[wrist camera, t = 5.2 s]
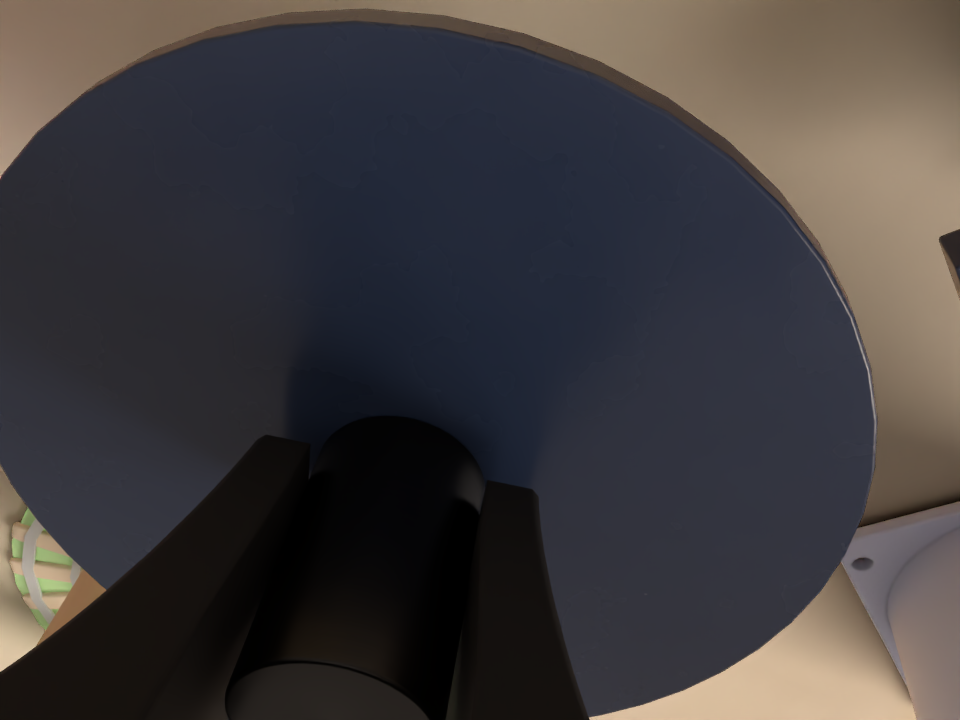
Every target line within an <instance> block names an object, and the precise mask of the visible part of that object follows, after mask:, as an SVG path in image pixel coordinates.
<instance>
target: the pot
mask: <svg viewBox="0 0 960 720" xmlns="http://www.w3.org/2000/svg"><path fill="white" fill-rule="evenodd" d="M939 242H940V245H941V248H942V251H943V254H944V257H945V259H946V262H947V265H948V268H949V271H950V274H951V276H952V279H953V282H954V285H955V288H956V291H957V294H958V296H959V299H960V229H959V230H956V231H953V232H951V233H948V234H945V235H943V236H941V237H939Z"/></svg>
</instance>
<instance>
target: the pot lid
mask: <svg viewBox="0 0 960 720" xmlns="http://www.w3.org/2000/svg"><path fill="white" fill-rule="evenodd" d="M877 426H878V416H877V409H876V401H875V394H874V386H873V379H872V371H871V366H870V363H869V360H868V357H867V354H866V351H865V348H864V344H863V341H862V338H861V335H860V332H859V329H858V326H857V323H856V320H855V317H854V314H853V311H852V308H851V305H850V303H849V300H848V297H847V295H846V293H845V291H844V289H843V287H842V285H841V283H840V281H839V280H838V278H837V276H836V274H835V272H834V270H833V268H832V266H831V264H830V263H829V261H828V259H827V257H826V255H825V253H824V251H823V249H822V247H821V246H820V244H819V242H818V241H817V239H816V238H815V237H814V235H813V234H812V233H811V231H810V230H809V229H808V227H807V226H806V225H805V223H804V222H803V221H802V220H801V218H800V217H799V216H798V214H797V213H796V212H795V210H794V209H793V208H792V206H791V205H790V204H789V202H788V201H787V200H786V198H785V197H784V196H783V195H782V193H781V192H780V191H779V190H778V189H777V188H776V187H775V186H774V185H773V184H772V183H771V182H770V181H769V180H768V179H767V178H766V177H765V176H764V175H763V174H762V173H761V172H760V171H759V170H758V169H757V168H756V167H755V166H754V165H753V164H752V163H751V162H750V161H748V160H747V159H746V158H745V157H744V156H743V155H742V154H741V153H740V152H739V151H738V150H737V149H736V148H735V147H734V146H733V145H732V144H731V143H730V142H729V141H728V140H726V139H725V138H723V137H722V136H721V135H719V134H718V133H716V132H715V131H714V130H712V129H711V128H709V127H708V126H707V125H705V124H704V123H703V122H701V121H700V120H698V119H697V118H696V117H694V116H693V115H691V114H690V113H689V112H687V111H686V110H684V109H683V108H682V107H680V106H679V105H678V104H676V103H675V102H673V101H672V100H671V99H669V98H668V97H666V96H664V95H662V94H660V93H658V92H656V91H655V90H653V89H651V88H649V87H647V86H645V85H643V84H641V83H639V82H638V81H636V80H634V79H632V78H630V77H628V76H626V75H624V74H622V73H621V72H619V71H617V70H615V69H613V68H611V67H609V66H607V65H605V64H604V63H602V62H600V61H597V60H595V59H592V58H589V57H587V56H584V55H581V54H578V53H576V52H573V51H570V50H568V49H565V48H562V47H559V46H557V45H554V44H551V43H549V42H546V41H543V40H540V39H538V38H535V37H532V36H530V35H527V34H524V33H520V32H516V31H511V30H507V29H502V28H498V27H493V26H489V25H485V24H480V23H476V22H471V21H467V20H462V19H458V18H453V17H449V16H444V15H433V14H421V13H410V12H398V11H386V10H375V9H349V10H330V11H311V12H291V13H284V14H279V15H274V16H269V17H264V18H259V19H254V20H249V21H244V22H239V23H234V24H229V25H224V26H219V27H216V28H213V29H210V30H207V31H205V32H202V33H199V34H197V35H194V36H191V37H188V38H186V39H183V40H180V41H178V42H175V43H172V44H169V45H167V46H164V47H161V48H159V49H156V50H153V51H151V52H150V53H148V54H146V55H144V56H143V57H141V58H139V59H137V60H136V61H134V62H132V63H130V64H129V65H127V66H125V67H123V68H122V69H120V70H118V71H116V72H115V73H113V74H111V75H109V76H108V77H106V78H104V79H102V80H101V81H99V82H98V83H96V84H95V85H94V86H92V87H91V88H90V89H88V90H87V91H86V92H84V93H83V94H82V95H81V96H79V97H78V98H77V99H76V100H75V101H73V102H72V103H71V104H70V105H69V106H67V107H66V108H65V109H64V110H63V111H61V112H60V113H59V114H58V115H57V116H56V117H54V118H53V119H52V120H51V121H50V122H48V123H47V124H46V125H45V126H44V127H42V128H41V129H40V130H39V131H38V132H37V133H36V134H35V135H34V136H33V137H32V139H31V140H30V141H29V142H28V144H27V145H26V146H25V147H24V148H23V150H22V151H21V152H20V153H19V155H18V156H17V157H16V158H15V159H14V161H13V162H12V163H11V164H10V166H9V167H8V168H7V169H6V171H5V172H4V173H3V174H2V176H1V178H0V465H1V467H2V468H3V470H4V472H5V474H6V476H7V477H8V479H9V481H10V483H11V485H12V486H13V487H14V489H15V490H16V492H17V493H18V494H19V496H20V497H21V499H22V500H23V501H24V503H25V504H26V505H27V507H28V508H29V510H30V511H31V512H32V514H33V515H34V517H35V518H36V519H37V521H38V522H39V523H40V524H41V525H42V526H43V528H44V529H45V530H46V531H47V532H48V533H49V534H50V535H51V537H52V538H53V539H54V540H55V541H56V542H57V543H58V544H59V546H60V547H61V548H62V549H63V550H64V551H65V552H66V553H67V555H69V556H70V557H71V558H72V559H73V560H74V561H75V562H76V563H77V564H78V565H79V566H80V567H81V568H83V569H84V570H85V571H86V572H87V573H88V574H89V575H90V576H91V577H92V578H93V579H94V580H95V581H97V582H98V583H99V584H100V585H101V586H102V587H103V588H105V589H106V590H107V589H108V588H109V587H111V586H112V585H113V584H114V583H115V582H116V581H117V580H119V579H120V578H121V577H122V576H123V575H124V574H125V573H126V572H128V571H129V570H130V569H131V568H132V567H133V566H134V565H136V564H137V563H138V562H139V561H140V560H141V559H142V558H144V557H145V556H146V555H147V554H148V553H149V552H150V551H151V550H152V549H153V548H154V547H155V546H157V545H158V544H159V543H160V542H161V541H162V540H163V539H164V538H165V537H166V536H167V535H168V534H169V533H170V532H171V531H172V530H173V529H174V528H175V527H176V526H177V525H178V524H179V523H180V522H181V521H182V520H183V519H184V518H185V517H186V516H187V515H188V514H189V513H190V512H191V511H192V510H193V509H194V508H195V507H196V506H197V505H198V504H199V503H200V502H201V501H202V500H203V499H204V498H205V497H206V496H207V495H208V494H209V493H210V492H211V491H212V490H213V489H214V488H215V487H216V486H217V484H218V483H219V482H220V481H221V480H222V479H223V478H224V477H225V476H226V475H227V474H228V473H229V471H230V470H231V469H232V468H233V467H234V466H235V465H236V464H237V462H238V461H239V460H240V459H241V458H242V457H243V456H244V454H245V453H246V452H247V451H248V450H249V449H250V447H251V446H252V445H253V444H254V443H255V441H256V440H257V439H258V438H260V437H262V436H264V435H271V436H276V437H281V438H286V439H290V440H295V441H300V442H305V443H310V460H309V481H308V483H307V486H306V488H305V491H304V493H303V496H302V499H301V501H300V504H299V506H298V509H297V511H296V514H295V516H294V519H293V521H292V524H291V526H290V529H289V531H288V534H287V536H286V539H285V541H284V544H283V546H282V549H281V552H280V554H279V557H278V559H277V562H276V564H275V567H274V569H273V572H272V574H271V577H270V579H269V582H268V584H267V587H266V589H265V592H264V594H263V597H262V600H261V602H260V605H259V607H258V610H257V612H256V615H255V617H254V620H253V622H252V625H251V627H250V630H249V632H248V635H247V637H246V640H245V642H244V645H243V647H242V650H241V653H240V655H239V658H238V660H237V663H236V665H235V668H234V670H233V673H232V675H231V678H230V680H229V683H228V685H227V688H226V692H225V709H226V713H227V716H228V718H229V720H446V716H447V710H448V704H449V698H450V692H451V687H452V681H453V675H454V669H455V664H456V658H457V652H458V646H459V640H460V635H461V629H462V623H463V617H464V612H465V605H466V598H467V590H468V581H469V572H470V567H471V561H472V555H473V549H474V544H475V538H476V532H477V527H478V521H479V515H480V511H481V506H482V502H483V498H484V493H485V489H486V485H487V480H491V481H496V482H500V483H505V484H510V485H515V486H520V487H525V488H530V489H533V490H534V492H535V493H536V494H537V495H538V497H539V513H540V524H541V533H542V540H543V546H544V553H545V558H546V563H547V569H548V574H549V579H550V584H551V588H552V593H553V597H554V601H555V605H556V609H557V613H558V617H559V621H560V625H561V629H562V633H563V636H564V640H565V644H566V648H567V651H568V654H569V658H570V661H571V665H572V668H573V671H574V674H575V677H576V681H577V684H578V687H579V690H580V693H581V696H582V699H583V702H584V705H585V708H586V711H587V714H588V717H593V716H599V715H604V714H608V713H612V712H616V711H620V710H624V709H628V708H632V707H636V706H640V705H644V704H646V703H649V702H652V701H655V700H658V699H661V698H663V697H666V696H669V695H672V694H675V693H677V692H680V691H683V690H685V689H687V688H690V687H692V686H694V685H696V684H698V683H700V682H702V681H704V680H706V679H709V678H711V677H713V676H715V675H717V674H719V673H721V672H723V671H725V670H726V669H728V668H730V667H731V666H733V665H734V664H736V663H738V662H739V661H741V660H742V659H744V658H746V657H747V656H749V655H750V654H752V653H754V652H755V651H757V650H758V649H760V648H761V647H762V646H763V645H765V644H766V643H767V642H768V641H770V640H771V639H772V638H773V637H774V636H776V635H777V634H778V633H779V632H781V631H782V630H783V629H784V628H785V627H787V626H788V625H789V624H790V623H792V622H793V621H794V619H795V618H796V617H797V616H798V615H799V614H800V613H801V612H802V611H803V610H804V609H805V608H806V607H807V605H808V604H809V603H810V602H811V601H812V600H813V599H814V598H815V597H816V596H817V595H818V594H819V592H820V591H821V590H822V589H823V587H824V586H825V584H826V583H827V581H828V580H829V578H830V577H831V575H832V574H833V572H834V571H835V569H836V568H837V566H838V565H839V563H840V562H841V560H842V559H843V557H844V556H845V554H846V552H847V550H848V548H849V545H850V543H851V541H852V539H853V536H854V534H855V532H856V530H857V528H858V525H859V523H860V521H861V519H862V516H863V514H864V511H865V507H866V503H867V499H868V494H869V490H870V486H871V482H872V478H873V474H874V470H875V461H876V443H877Z"/></svg>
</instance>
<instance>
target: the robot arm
mask: <svg viewBox="0 0 960 720" xmlns="http://www.w3.org/2000/svg"><path fill="white" fill-rule="evenodd" d="M309 460H310V443H305V442H300V441H295V440H290V439H286V438H281V437H276V436H271V435H264V436H262V437H260V438H258V439H257V440H256V441H255V443H254V444H253V445H252V446H251V447H250V449H249V450H248V451H247V452H246V453H245V454H244V456H243V457H242V458H241V459H240V460H239V461H238V462H237V464H236V465H235V466H234V467H233V468H232V469H231V470H230V471H229V473H228V474H227V475H226V476H225V477H224V478H223V479H222V480H221V481H220V482H219V483H218V484H217V486H216V487H215V488H214V489H213V490H212V491H211V492H210V493H209V494H208V495H207V496H206V497H205V498H204V499H203V500H202V501H201V502H200V503H199V504H198V505H197V506H196V507H195V508H194V509H193V510H192V511H191V512H190V513H189V514H188V515H187V516H186V517H185V518H184V519H183V520H182V521H181V522H180V523H179V524H178V525H177V526H176V527H175V528H174V529H173V530H172V531H171V532H170V533H169V534H168V535H167V536H166V537H165V538H164V539H163V540H162V541H161V542H160V543H159V544H158V545H157V546H155V547H154V548H153V549H152V550H151V551H150V552H149V553H148V554H147V555H146V556H145V557H144V558H142V559H141V560H140V561H139V562H138V563H137V564H136V565H134V566H133V567H132V568H131V569H130V570H129V571H128V572H126V573H125V574H124V575H123V576H122V577H121V578H120V579H119V580H117V581H116V582H115V583H114V584H113V585H112V586H111V587H109V588H108V589H107V590H106V591H105V592H104V593H103V594H101V595H100V596H99V597H98V598H97V599H96V600H94V601H93V602H92V603H91V604H90V605H88V606H87V607H86V608H85V609H83V610H82V611H81V612H80V613H79V614H77V615H76V616H75V617H74V618H72V619H71V620H70V621H69V622H67V623H66V624H65V625H64V626H62V627H61V628H60V629H58V630H57V631H56V632H55V633H53V634H52V635H51V636H49V637H48V638H47V639H45V640H44V641H43V642H41V643H40V644H39V645H37V646H36V647H35V648H33V649H32V650H31V651H29V652H28V653H27V654H25V655H24V656H23V657H21V658H20V659H19V660H17V661H16V662H14V663H13V664H11V665H10V666H9V667H7V668H6V669H4V670H3V671H1V672H0V720H229V718H228V716H227V713H226V709H225V692H226V688H227V685H228V683H229V680H230V678H231V675H232V673H233V670H234V668H235V665H236V663H237V660H238V658H239V655H240V653H241V650H242V647H243V645H244V642H245V640H246V637H247V635H248V632H249V630H250V627H251V625H252V622H253V620H254V617H255V615H256V612H257V610H258V607H259V605H260V602H261V600H262V597H263V594H264V592H265V589H266V587H267V584H268V582H269V579H270V577H271V574H272V572H273V569H274V567H275V564H276V562H277V559H278V557H279V554H280V552H281V549H282V546H283V544H284V541H285V539H286V536H287V534H288V531H289V529H290V526H291V524H292V521H293V519H294V516H295V514H296V511H297V509H298V506H299V504H300V501H301V499H302V496H303V493H304V491H305V488H306V486H307V483H308V481H309ZM864 557H865V558H864ZM858 558H863V559H858ZM841 563H842V565H843V567H844V569H845V571H846V573H847V575H848V577H849V578H850V580H851V582H852V584H853V586H854V588H855V590H856V592H857V594H858V595H859V597H860V599H861V601H862V603H863V605H864V607H865V609H866V611H867V612H868V614H869V616H870V618H871V620H872V622H873V624H874V626H875V628H876V629H877V631H878V633H879V635H880V637H881V639H882V641H883V643H884V644H885V646H886V648H887V650H888V652H889V654H890V656H891V658H892V660H893V661H894V663H895V665H896V667H897V669H898V671H899V673H900V675H901V677H902V678H903V680H904V682H905V684H906V686H907V688H908V690H909V693H910V697H911V700H912V704H913V708H914V711H915V715H916V718H917V720H960V501H959V502H955V503H951V504H947V505H943V506H940V507H936V508H932V509H928V510H924V511H921V512H917V513H913V514H909V515H906V516H902V517H898V518H894V519H890V520H887V521H883V522H879V523H875V524H872V525H868V526H864V527H860V528H857V530H856V532H855V534H854V536H853V539H852V541H851V543H850V545H849V548H848V550H847V552H846V554H845V556H844V557H843V559H842V560H841ZM446 720H589V717H588V714H587V711H586V708H585V705H584V702H583V699H582V696H581V693H580V690H579V687H578V684H577V681H576V677H575V674H574V671H573V668H572V665H571V661H570V658H569V654H568V651H567V648H566V644H565V640H564V636H563V633H562V629H561V625H560V621H559V617H558V613H557V609H556V605H555V601H554V597H553V593H552V588H551V584H550V579H549V574H548V569H547V563H546V558H545V553H544V546H543V540H542V533H541V524H540V513H539V497H538V495H537V494H536V493H535V492H534V490H533V489H530V488H525V487H520V486H515V485H510V484H505V483H500V482H496V481H491V480H487V485H486V489H485V493H484V498H483V502H482V506H481V511H480V515H479V521H478V527H477V532H476V538H475V544H474V549H473V555H472V561H471V567H470V572H469V581H468V590H467V598H466V605H465V612H464V617H463V623H462V629H461V635H460V640H459V646H458V652H457V658H456V664H455V669H454V675H453V681H452V687H451V692H450V698H449V704H448V710H447V716H446Z"/></svg>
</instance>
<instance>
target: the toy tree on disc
mask: <svg viewBox="0 0 960 720" xmlns="http://www.w3.org/2000/svg"><path fill="white" fill-rule="evenodd" d="M12 537H13V540H12V542H11V543H12V553H13V557H12V558H11V559H10V560H9V562H10V565H11V568H12V571H13V572H14V573H15V583H16V585H17V587H18V588H19V590H20V592H21V594H22V595H23V596H22V599H23V600H24V601H25V603H26V604H27V605H28V607H29V608H30V610H31V611H32V613H33V615H34V617H35V618H36V620H37V622H38V623H39V624H40V625H41V626H42V627H43V628H44V629H45V630H46V631H45V632H44V634H43V636H42V637H41V639H40V641H39V642H38V644H37V645H39V644H40V643H41V642H43V641H44V640H45V639H47V638H48V637H49V636H51V635H52V634H53V633H55V632H56V631H57V630H58V629H60V628H61V627H62V626H64V625H65V624H66V623H67V622H69V621H70V620H71V619H72V618H74V617H75V616H76V615H77V614H79V613H80V612H81V611H82V610H83V609H85V608H86V607H87V606H88V605H90V604H91V603H92V602H93V601H94V600H96V599H97V598H98V597H99V596H100V595H101V594H103V593H104V592H105V591H106V589H105V588H103V587H102V586H101V585H100V584H99V583H98V582H97V581H95V580H94V579H93V578H92V577H91V576H90V575H89V574H88V573H87V572H86V571H85V570H84V569H83V568H81V567H80V566H79V565H78V564H77V563H76V562H75V561H74V560H73V559H72V558H71V557H70V556H69V555H67V553H66V552H65V551H64V550H63V549H62V548H61V547H60V546H59V544H58V543H57V542H56V541H55V540H54V539H53V538H52V537H51V535H50V534H49V533H48V532H47V531H46V530H45V529H44V528H43V526H42V525H41V524H40V523H39V522H38V521H37V519H36V518H35V517H34V515H33V514H32V512H31V511H30V510H29V508H27V510H26V512H25V514H24V516H23V519H22V521H21V522H15V523H14V524H13V527H12Z"/></svg>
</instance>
